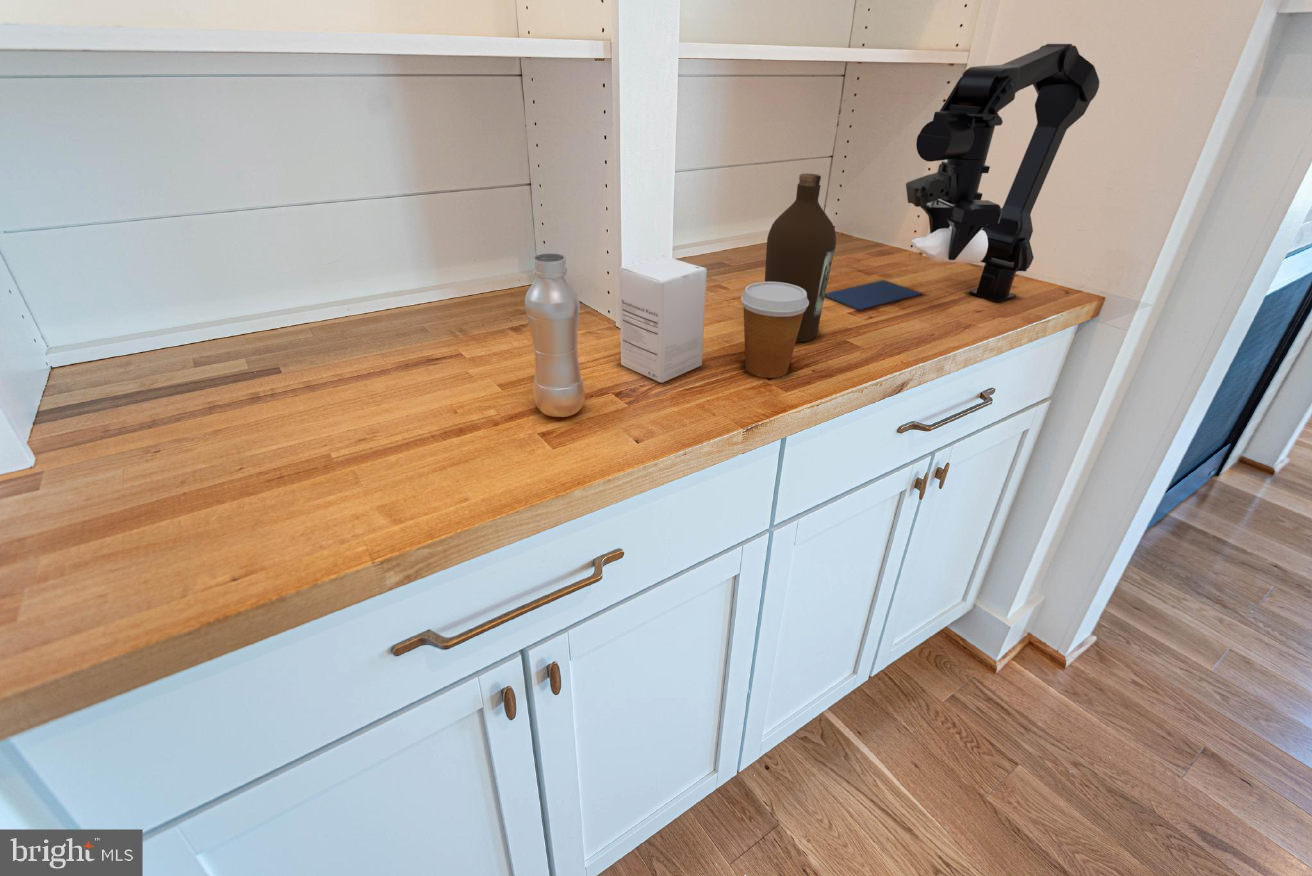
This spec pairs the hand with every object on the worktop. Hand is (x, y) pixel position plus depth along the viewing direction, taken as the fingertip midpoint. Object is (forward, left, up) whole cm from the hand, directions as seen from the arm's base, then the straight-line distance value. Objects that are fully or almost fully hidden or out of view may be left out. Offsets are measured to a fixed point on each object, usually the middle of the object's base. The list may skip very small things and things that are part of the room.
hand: (942, 254), depth 110 cm
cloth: (0, -13, -11) cm, 17 cm away
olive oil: (+28, -6, -11) cm, 31 cm away
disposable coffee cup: (+41, +3, -11) cm, 43 cm away
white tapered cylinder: (0, 0, -1) cm, 1 cm away
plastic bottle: (+73, -1, -11) cm, 74 cm away
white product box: (+54, -6, -11) cm, 56 cm away
